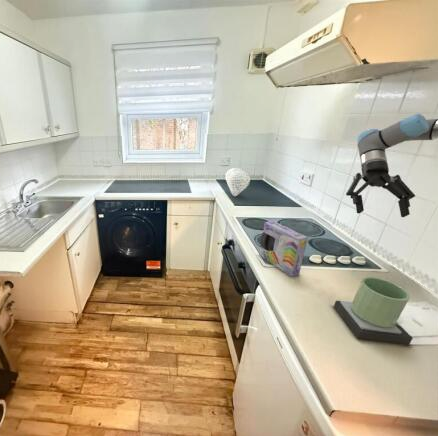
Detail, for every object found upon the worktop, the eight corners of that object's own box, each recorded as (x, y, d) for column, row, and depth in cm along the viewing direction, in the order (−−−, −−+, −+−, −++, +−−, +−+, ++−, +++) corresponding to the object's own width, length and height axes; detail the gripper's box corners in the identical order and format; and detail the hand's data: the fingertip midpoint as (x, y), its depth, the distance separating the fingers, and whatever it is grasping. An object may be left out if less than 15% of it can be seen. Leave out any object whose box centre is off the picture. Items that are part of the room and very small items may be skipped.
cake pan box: (256, 254, 113) (263, 220, 106) (265, 252, 114) (272, 219, 108) (290, 278, 96) (300, 239, 89) (299, 275, 98) (310, 237, 91)
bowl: (389, 311, 74) (403, 284, 70) (399, 334, 66) (415, 305, 62) (348, 299, 79) (359, 273, 75) (352, 319, 71) (365, 291, 67)
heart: (221, 191, 212) (224, 166, 203) (239, 191, 210) (243, 166, 202) (228, 201, 186) (232, 173, 177) (249, 201, 185) (254, 173, 176)
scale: (376, 312, 79) (380, 303, 78) (408, 345, 67) (414, 336, 66) (333, 307, 81) (336, 298, 80) (357, 339, 69) (361, 329, 68)
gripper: (405, 172, 94) (416, 221, 87) (332, 169, 100) (337, 214, 93) (421, 160, 87) (435, 212, 80) (342, 158, 94) (348, 206, 86)
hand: (382, 213), depth 86 cm, fingers open, 13 cm apart
